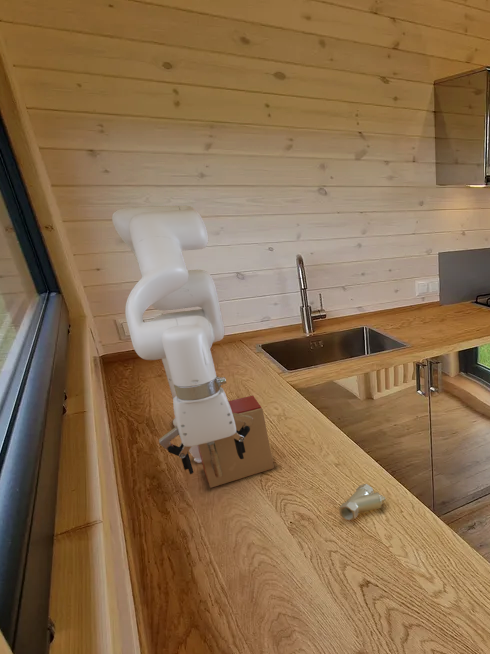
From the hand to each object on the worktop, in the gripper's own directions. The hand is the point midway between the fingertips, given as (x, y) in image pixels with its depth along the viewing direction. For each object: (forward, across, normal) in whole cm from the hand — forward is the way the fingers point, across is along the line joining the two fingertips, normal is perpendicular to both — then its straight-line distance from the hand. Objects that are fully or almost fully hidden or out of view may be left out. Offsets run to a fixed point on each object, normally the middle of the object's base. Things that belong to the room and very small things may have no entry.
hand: (216, 463), depth 102 cm
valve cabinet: (+9, -5, -11) cm, 15 cm away
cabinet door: (+9, -5, -4) cm, 11 cm away
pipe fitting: (+9, -23, +22) cm, 33 cm away
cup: (+9, +1, -24) cm, 25 cm away
